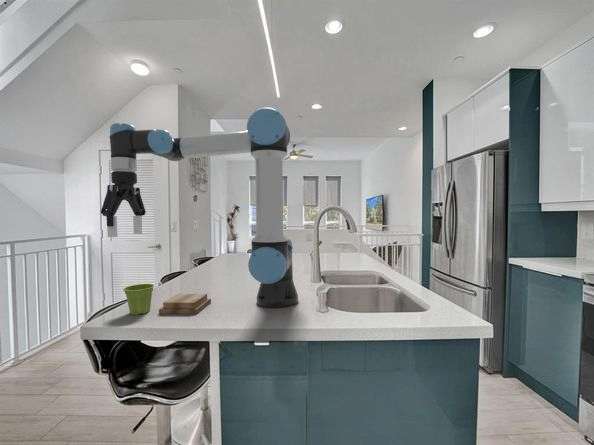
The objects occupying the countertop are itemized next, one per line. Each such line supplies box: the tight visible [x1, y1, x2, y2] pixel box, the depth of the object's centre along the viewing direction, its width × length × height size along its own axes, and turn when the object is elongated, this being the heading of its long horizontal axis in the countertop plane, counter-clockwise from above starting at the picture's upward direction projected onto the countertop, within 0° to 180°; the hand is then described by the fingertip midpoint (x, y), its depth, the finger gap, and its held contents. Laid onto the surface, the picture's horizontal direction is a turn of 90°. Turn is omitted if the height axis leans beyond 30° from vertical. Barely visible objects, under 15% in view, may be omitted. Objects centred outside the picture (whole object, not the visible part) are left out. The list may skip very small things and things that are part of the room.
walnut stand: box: [158, 293, 212, 315], centre depth 111 cm, size 13×13×4 cm
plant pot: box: [122, 283, 155, 316], centre depth 107 cm, size 9×9×9 cm
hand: (126, 235), depth 106 cm, fingers open, 13 cm apart
